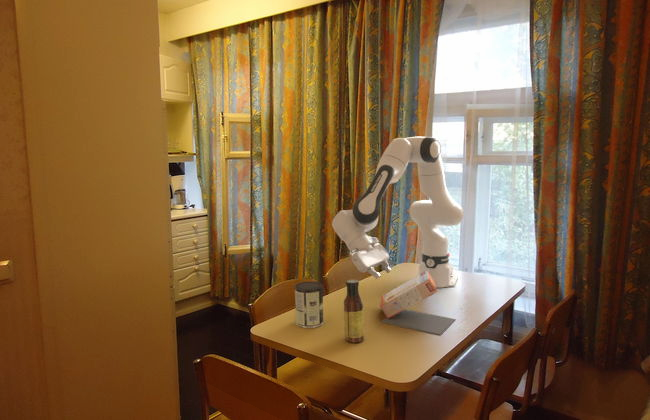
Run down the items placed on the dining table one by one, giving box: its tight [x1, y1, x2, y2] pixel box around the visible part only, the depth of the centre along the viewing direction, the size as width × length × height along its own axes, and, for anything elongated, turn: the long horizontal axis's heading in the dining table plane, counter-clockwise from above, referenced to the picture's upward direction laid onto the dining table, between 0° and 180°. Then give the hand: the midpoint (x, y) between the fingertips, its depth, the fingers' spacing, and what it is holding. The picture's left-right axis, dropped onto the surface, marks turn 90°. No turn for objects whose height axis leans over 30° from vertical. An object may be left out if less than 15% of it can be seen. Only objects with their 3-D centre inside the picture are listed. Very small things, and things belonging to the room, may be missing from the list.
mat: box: [380, 308, 456, 336], centre depth 157 cm, size 16×22×1 cm
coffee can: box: [294, 281, 325, 329], centre depth 156 cm, size 10×10×14 cm
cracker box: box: [379, 271, 438, 318], centre depth 162 cm, size 14×6×21 cm
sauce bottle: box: [343, 279, 365, 344], centre depth 141 cm, size 6×6×20 cm
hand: (384, 274), depth 163 cm, fingers open, 8 cm apart
